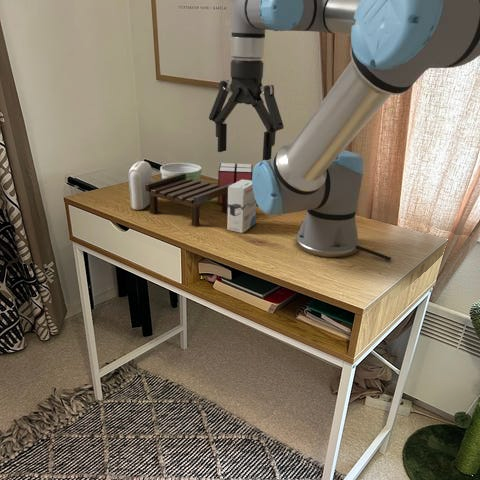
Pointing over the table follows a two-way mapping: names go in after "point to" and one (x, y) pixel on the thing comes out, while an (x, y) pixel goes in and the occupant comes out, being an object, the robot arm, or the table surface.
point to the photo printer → (139, 184)
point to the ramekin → (181, 170)
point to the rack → (186, 194)
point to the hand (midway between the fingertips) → (243, 155)
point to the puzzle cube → (233, 174)
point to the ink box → (241, 206)
